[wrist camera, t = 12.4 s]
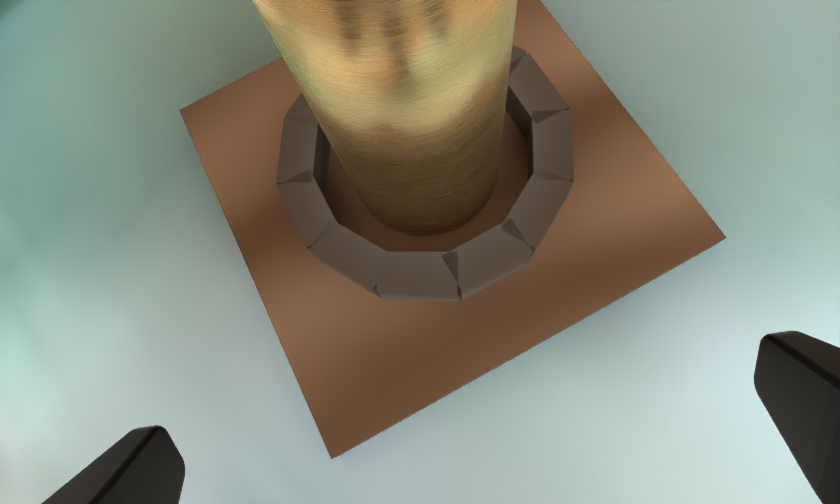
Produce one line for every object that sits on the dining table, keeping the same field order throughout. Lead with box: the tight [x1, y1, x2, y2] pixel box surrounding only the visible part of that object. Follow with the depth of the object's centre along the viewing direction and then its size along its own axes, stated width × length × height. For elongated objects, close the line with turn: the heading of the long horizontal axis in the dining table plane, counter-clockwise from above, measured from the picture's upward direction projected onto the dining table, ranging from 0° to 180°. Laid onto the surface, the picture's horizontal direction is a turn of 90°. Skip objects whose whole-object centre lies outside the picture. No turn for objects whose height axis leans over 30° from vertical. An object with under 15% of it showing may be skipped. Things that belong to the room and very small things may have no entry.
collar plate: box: [180, 0, 726, 459], centre depth 17 cm, size 14×14×2 cm
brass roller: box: [252, 0, 517, 236], centre depth 11 cm, size 5×5×13 cm
